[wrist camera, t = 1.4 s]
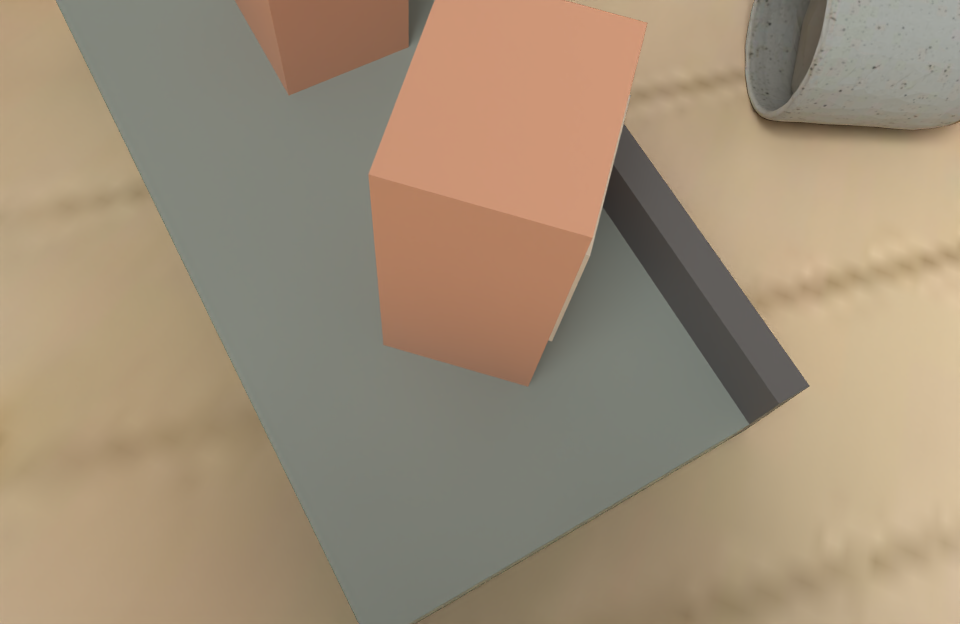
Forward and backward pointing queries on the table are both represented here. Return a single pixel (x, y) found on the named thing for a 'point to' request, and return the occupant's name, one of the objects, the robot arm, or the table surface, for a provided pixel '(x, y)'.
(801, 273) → the table surface
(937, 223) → the table surface
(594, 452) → the display shelf
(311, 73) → the tea box
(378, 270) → the tea box
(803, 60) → the ceramic mug
